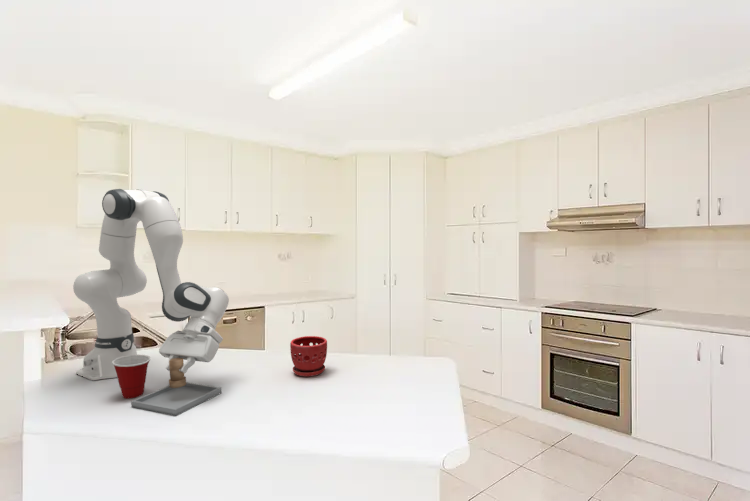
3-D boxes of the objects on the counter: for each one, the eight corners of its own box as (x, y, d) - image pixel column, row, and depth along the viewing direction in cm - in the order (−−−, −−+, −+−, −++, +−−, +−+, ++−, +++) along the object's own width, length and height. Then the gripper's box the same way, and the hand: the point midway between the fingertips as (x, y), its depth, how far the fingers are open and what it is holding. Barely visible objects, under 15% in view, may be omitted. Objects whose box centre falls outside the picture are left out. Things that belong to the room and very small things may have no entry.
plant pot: (284, 377, 152) (283, 343, 151) (302, 365, 164) (301, 334, 164) (318, 380, 148) (316, 346, 147) (333, 368, 160) (332, 336, 160)
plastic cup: (136, 403, 133) (133, 364, 132) (105, 401, 135) (103, 363, 134) (160, 389, 143) (158, 354, 143) (132, 388, 145) (130, 353, 145)
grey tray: (131, 407, 129) (131, 401, 129) (179, 386, 146) (179, 381, 146) (175, 416, 122) (175, 409, 122) (221, 392, 139) (221, 387, 139)
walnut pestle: (165, 387, 133) (164, 361, 132) (178, 381, 137) (176, 356, 137) (177, 388, 131) (175, 362, 130) (189, 383, 135) (188, 358, 135)
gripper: (168, 325, 143) (144, 363, 135) (216, 328, 135) (193, 369, 127) (180, 335, 148) (157, 372, 139) (227, 339, 140) (206, 379, 131)
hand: (175, 371), depth 133 cm, fingers closed on walnut pestle, 4 cm apart
